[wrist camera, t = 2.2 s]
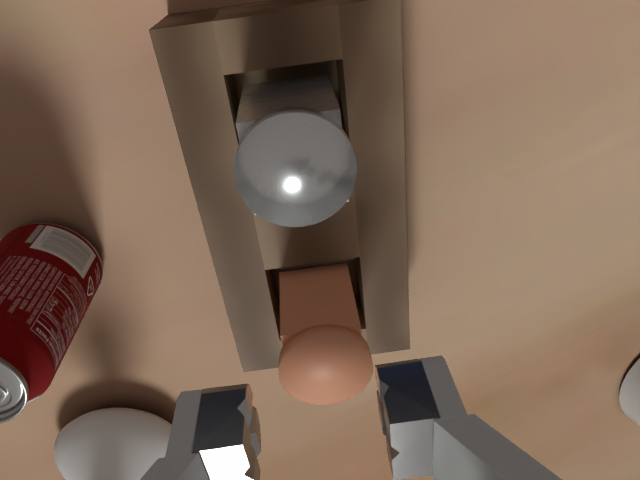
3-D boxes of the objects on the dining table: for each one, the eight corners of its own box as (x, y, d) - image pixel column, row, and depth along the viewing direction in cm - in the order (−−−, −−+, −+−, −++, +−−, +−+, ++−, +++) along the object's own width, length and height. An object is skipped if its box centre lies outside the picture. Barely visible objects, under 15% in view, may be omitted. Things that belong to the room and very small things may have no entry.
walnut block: (381, -15, 28) (400, -5, 24) (395, 304, 40) (409, 349, 36) (167, 14, 28) (148, 30, 24) (246, 325, 40) (243, 372, 36)
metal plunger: (334, 65, 26) (352, 105, 20) (343, 158, 29) (361, 218, 23) (234, 78, 26) (221, 123, 20) (252, 171, 29) (246, 234, 23)
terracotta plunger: (352, 256, 32) (370, 331, 26) (358, 318, 35) (375, 397, 29) (272, 268, 32) (271, 344, 26) (284, 328, 35) (286, 410, 29)
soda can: (52, 198, 33) (-47, 318, 23) (126, 267, 36) (68, 398, 26) (-18, 249, 35) (-140, 381, 25) (59, 310, 38) (-20, 449, 28)
